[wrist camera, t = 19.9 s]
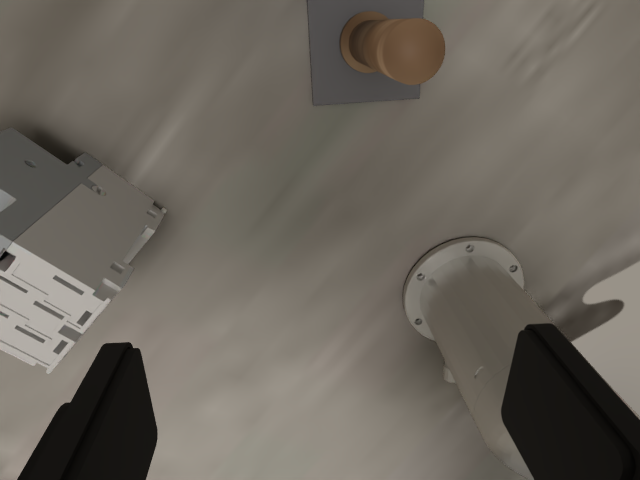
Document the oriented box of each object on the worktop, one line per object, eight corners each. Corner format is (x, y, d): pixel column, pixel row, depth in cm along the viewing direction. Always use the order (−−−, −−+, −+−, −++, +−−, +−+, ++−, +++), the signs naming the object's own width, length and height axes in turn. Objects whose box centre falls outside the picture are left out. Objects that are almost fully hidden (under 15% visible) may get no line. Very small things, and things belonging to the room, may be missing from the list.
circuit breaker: (15, 102, 36) (-137, 153, 23) (167, 209, 42) (114, 302, 28) (-28, 171, 39) (-191, 253, 25) (121, 265, 44) (53, 375, 30)
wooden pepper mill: (393, 69, 37) (453, 93, 25) (340, 73, 37) (373, 99, 24) (394, 9, 35) (459, 2, 23) (338, 13, 35) (372, 7, 23)
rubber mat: (417, 97, 39) (419, 98, 38) (313, 104, 38) (313, 105, 38) (422, -24, 35) (424, -25, 34) (306, -18, 34) (306, -18, 34)
